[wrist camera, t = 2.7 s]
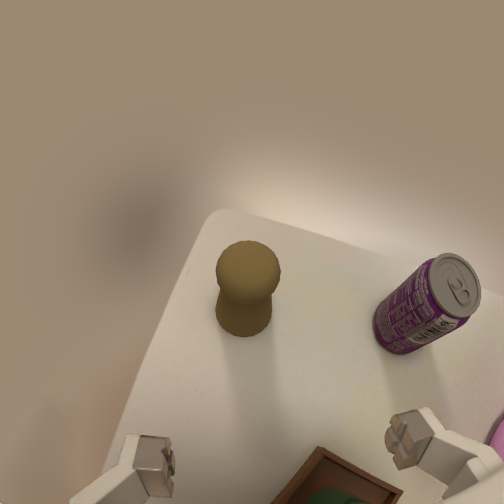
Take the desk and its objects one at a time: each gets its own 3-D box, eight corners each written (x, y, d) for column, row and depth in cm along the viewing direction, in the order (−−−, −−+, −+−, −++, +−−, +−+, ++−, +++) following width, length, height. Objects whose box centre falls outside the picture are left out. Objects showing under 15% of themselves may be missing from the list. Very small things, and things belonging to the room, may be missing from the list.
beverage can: (431, 335, 33) (494, 297, 23) (391, 366, 31) (455, 337, 21) (402, 288, 36) (455, 237, 26) (360, 315, 34) (411, 267, 24)
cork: (214, 336, 32) (207, 298, 23) (216, 283, 35) (211, 227, 26) (272, 337, 33) (291, 299, 23) (270, 284, 36) (286, 229, 26)
